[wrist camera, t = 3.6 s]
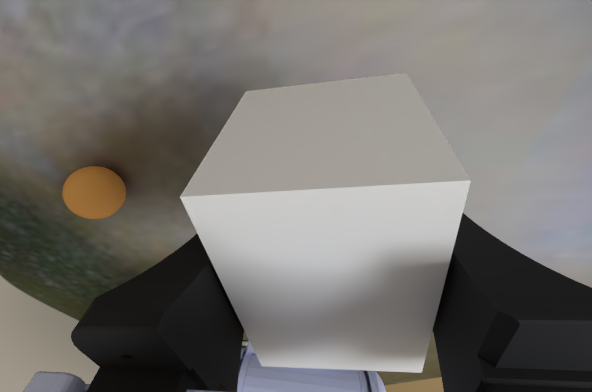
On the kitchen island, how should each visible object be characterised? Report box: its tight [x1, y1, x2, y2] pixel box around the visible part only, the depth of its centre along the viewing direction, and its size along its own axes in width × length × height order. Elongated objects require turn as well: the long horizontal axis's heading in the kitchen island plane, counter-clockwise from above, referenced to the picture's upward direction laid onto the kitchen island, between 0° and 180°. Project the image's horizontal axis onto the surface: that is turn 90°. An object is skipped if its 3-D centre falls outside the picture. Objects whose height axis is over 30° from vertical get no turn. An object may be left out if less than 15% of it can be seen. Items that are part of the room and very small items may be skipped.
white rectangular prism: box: [180, 73, 471, 373], centre depth 11 cm, size 9×6×7 cm
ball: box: [62, 166, 126, 219], centre depth 23 cm, size 4×4×4 cm
